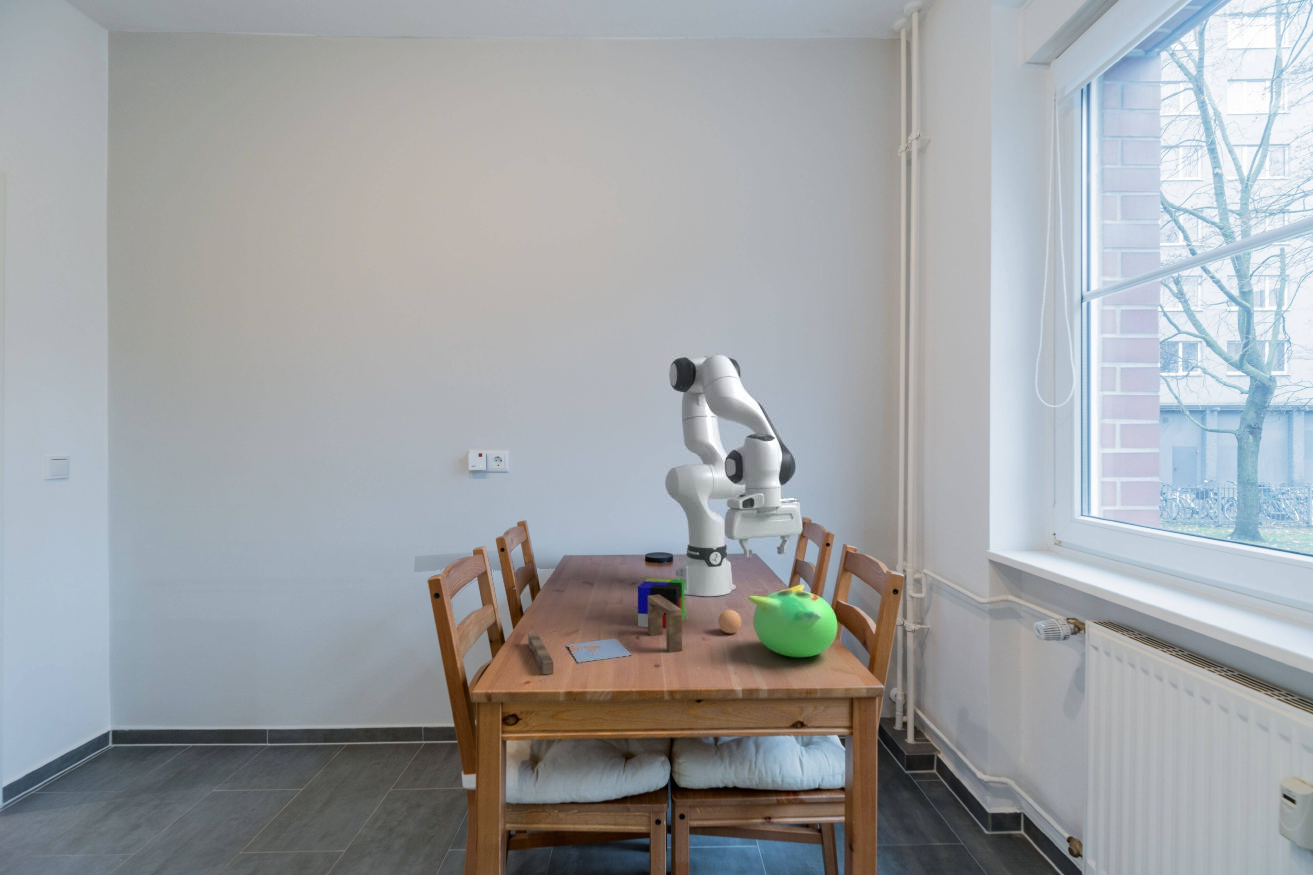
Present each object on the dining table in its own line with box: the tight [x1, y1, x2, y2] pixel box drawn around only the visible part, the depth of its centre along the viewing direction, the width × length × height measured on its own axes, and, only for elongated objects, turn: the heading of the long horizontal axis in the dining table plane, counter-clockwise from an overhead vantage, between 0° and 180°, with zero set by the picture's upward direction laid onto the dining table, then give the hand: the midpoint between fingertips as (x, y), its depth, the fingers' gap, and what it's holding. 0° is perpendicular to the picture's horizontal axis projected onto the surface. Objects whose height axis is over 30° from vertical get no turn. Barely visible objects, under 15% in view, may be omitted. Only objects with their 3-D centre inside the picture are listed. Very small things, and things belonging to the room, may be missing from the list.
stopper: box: [527, 632, 554, 675], centre depth 139 cm, size 20×2×2 cm, turn 20°
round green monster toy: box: [747, 584, 838, 658], centre depth 139 cm, size 18×17×15 cm
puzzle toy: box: [637, 578, 686, 629], centre depth 165 cm, size 10×10×10 cm
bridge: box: [647, 595, 683, 653], centre depth 149 cm, size 3×14×9 cm, turn 20°
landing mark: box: [566, 638, 632, 664], centre depth 143 cm, size 12×12×1 cm
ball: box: [718, 609, 742, 634], centre depth 155 cm, size 6×6×6 cm
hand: (765, 555), depth 158 cm, fingers open, 8 cm apart
